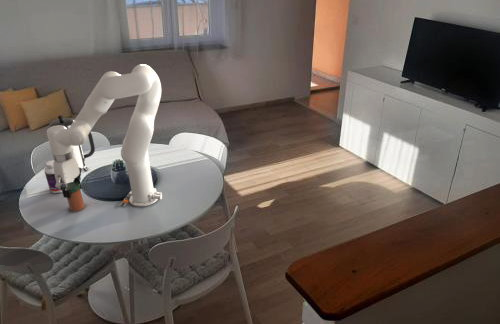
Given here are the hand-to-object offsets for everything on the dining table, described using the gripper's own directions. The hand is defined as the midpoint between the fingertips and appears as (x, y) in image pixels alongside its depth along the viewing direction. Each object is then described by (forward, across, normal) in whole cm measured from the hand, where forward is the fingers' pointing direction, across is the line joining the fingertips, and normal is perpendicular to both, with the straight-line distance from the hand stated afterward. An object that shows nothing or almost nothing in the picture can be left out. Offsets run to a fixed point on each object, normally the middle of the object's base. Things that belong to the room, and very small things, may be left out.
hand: (73, 192), depth 175 cm
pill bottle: (+8, -12, -18) cm, 23 cm away
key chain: (+8, -11, +18) cm, 23 cm away
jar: (+8, 0, 0) cm, 8 cm away
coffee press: (+8, -32, -23) cm, 40 cm away
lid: (-3, 0, 0) cm, 3 cm away
